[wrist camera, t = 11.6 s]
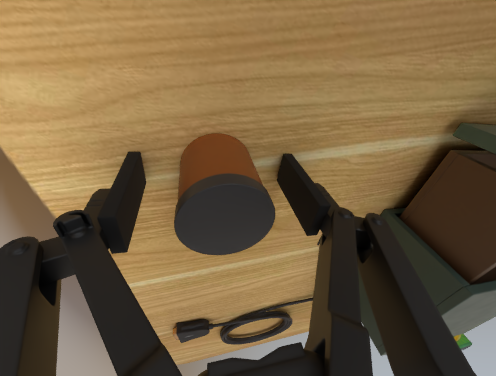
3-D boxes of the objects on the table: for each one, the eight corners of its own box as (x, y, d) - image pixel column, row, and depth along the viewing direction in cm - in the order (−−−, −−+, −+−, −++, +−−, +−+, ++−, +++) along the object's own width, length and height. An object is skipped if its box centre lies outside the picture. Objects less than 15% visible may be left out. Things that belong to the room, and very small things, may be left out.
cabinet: (384, 209, 26) (473, 295, 18) (469, 203, 29) (576, 273, 21) (336, 278, 35) (380, 355, 27) (405, 268, 39) (463, 333, 31)
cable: (320, 318, 46) (324, 325, 44) (187, 351, 41) (187, 360, 40) (337, 286, 37) (342, 295, 36) (172, 323, 33) (171, 334, 31)
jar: (176, 130, 15) (169, 185, 10) (256, 133, 16) (285, 182, 11) (181, 194, 18) (177, 260, 13) (246, 192, 20) (265, 250, 15)
